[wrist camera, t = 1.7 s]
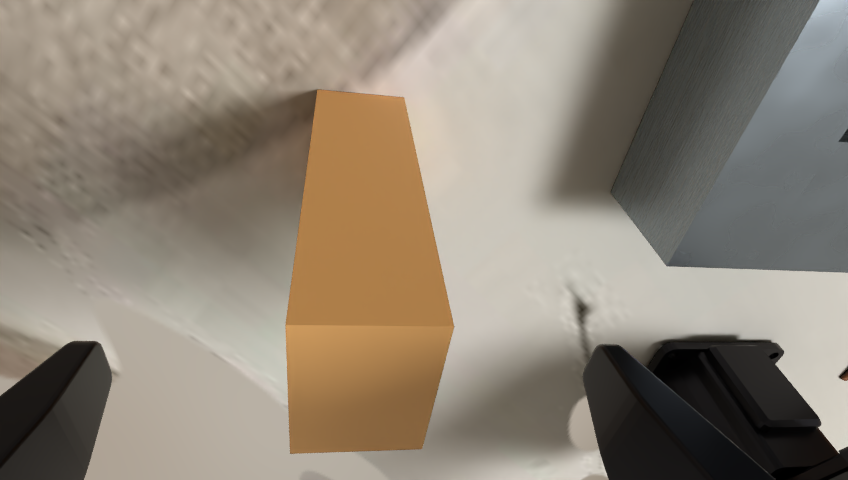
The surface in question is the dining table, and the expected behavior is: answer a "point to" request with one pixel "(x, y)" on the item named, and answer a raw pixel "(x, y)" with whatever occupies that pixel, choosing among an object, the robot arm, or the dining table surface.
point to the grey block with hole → (747, 140)
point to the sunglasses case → (845, 376)
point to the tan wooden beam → (364, 285)
